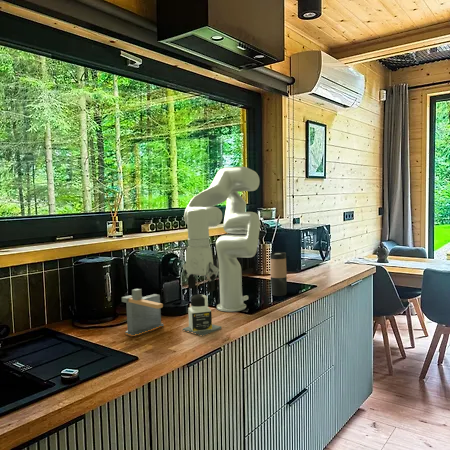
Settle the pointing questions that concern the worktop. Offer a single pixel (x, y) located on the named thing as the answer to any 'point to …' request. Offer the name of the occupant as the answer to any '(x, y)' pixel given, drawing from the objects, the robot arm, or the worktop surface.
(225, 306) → the robot arm
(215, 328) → the slate coaster
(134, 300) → the bar
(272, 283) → the travel mug
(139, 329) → the rail
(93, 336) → the worktop surface
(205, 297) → the medicine bottle
